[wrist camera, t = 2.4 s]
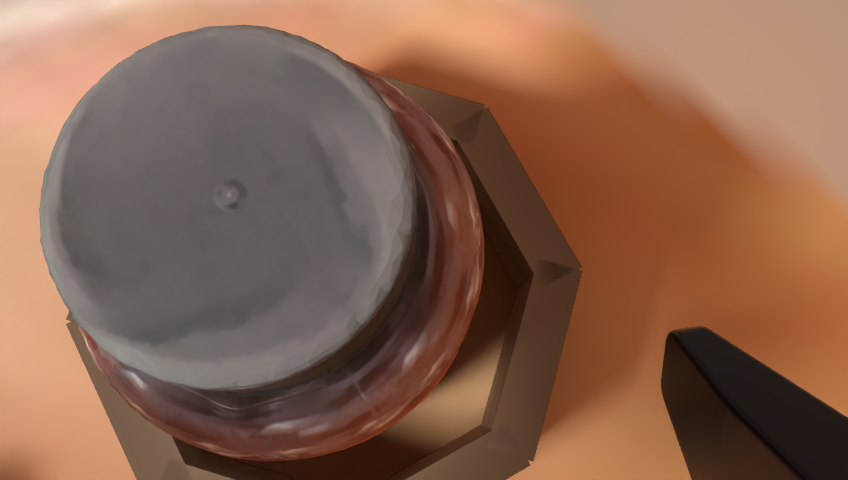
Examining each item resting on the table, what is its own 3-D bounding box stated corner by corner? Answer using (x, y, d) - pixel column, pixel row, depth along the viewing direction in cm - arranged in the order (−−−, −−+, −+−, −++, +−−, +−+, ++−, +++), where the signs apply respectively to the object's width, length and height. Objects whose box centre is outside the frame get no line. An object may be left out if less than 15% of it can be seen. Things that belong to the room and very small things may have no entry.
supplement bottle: (351, 146, 20) (273, -167, 9) (506, 317, 19) (641, 214, 8) (169, 298, 19) (-176, 167, 8) (323, 483, 18) (183, 632, 7)
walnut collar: (623, 392, 19) (655, 392, 16) (240, 611, 17) (213, 648, 15) (421, 45, 20) (423, -3, 18) (61, 224, 19) (9, 200, 17)
